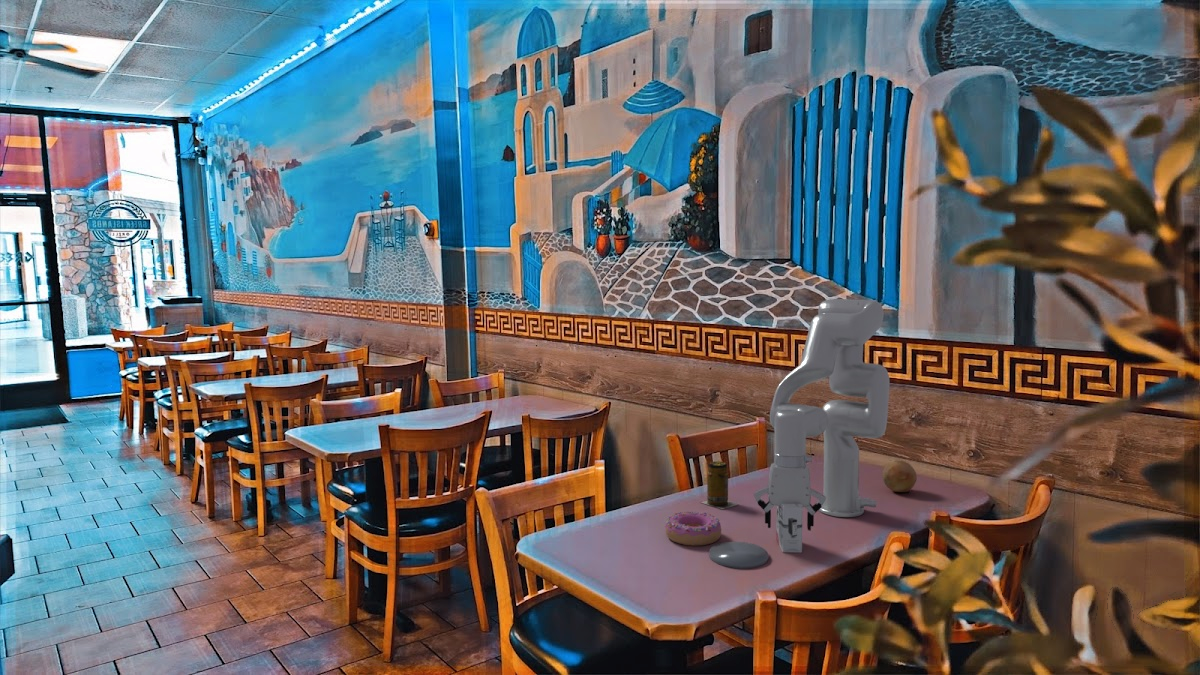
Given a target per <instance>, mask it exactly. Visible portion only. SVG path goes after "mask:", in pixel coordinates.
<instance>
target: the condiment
mask: <svg viewBox="0 0 1200 675" xmlns="http://www.w3.org/2000/svg"><path fill="white" fill-rule="evenodd" d="M727 467H728V464H727V463H726V462H725V461H711V462H709V463H708V472H707V473H706V474H707V475H706V476H707V477H706V479H707V482H706V485H707V487H706V488H707V491H706V492H707V493H706V494H707V496H706V499H707V500H705V501H701V502H700V504H701V503H702V504H704V505H706V506H710V507H714V508H717V509H720V510H724V509H727V508H728V509H729V508H733V507H734V506H737V505H739V503H737V502H733V501H731V500H729V472H728V468H727Z"/></svg>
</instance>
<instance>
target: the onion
mask: <svg viewBox="0 0 1200 675" xmlns="http://www.w3.org/2000/svg"><path fill="white" fill-rule="evenodd" d="M917 479H918V476H917V472H916V470H915V468H914V467H913V466H912V465H911V463H909V462H907V461H905V460H904V459H892V460H890V461H889V462H888V463H887V464H886V465H885V466H884V468H883V470H882V482H883V483H884V485H885V486H886V487H887V488H888V489H889V490H890V491H892V492H894V493H895V492H896V493H907V492H909V491H911V490H912V489H913V487H914V486H915V484H916V483H917V481H918V480H917Z"/></svg>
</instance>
